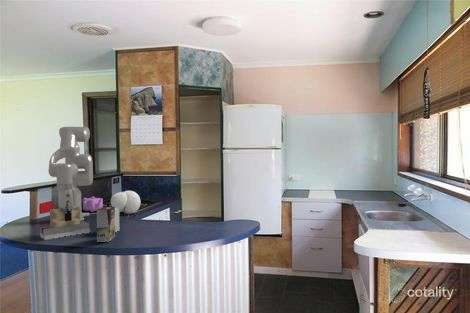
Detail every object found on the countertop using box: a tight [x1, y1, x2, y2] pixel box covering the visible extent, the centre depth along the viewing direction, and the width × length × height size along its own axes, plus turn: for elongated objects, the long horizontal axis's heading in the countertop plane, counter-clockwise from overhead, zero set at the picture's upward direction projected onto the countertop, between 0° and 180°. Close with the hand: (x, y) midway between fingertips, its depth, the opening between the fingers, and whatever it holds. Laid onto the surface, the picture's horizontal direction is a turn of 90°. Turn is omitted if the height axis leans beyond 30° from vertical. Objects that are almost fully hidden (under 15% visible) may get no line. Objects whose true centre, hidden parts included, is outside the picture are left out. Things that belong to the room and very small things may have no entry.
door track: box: [39, 220, 91, 241], centre depth 178 cm, size 22×9×5 cm, turn 133°
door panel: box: [49, 206, 81, 228], centre depth 178 cm, size 14×3×12 cm, turn 133°
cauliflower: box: [110, 190, 141, 215], centre depth 234 cm, size 20×18×16 cm
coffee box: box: [96, 206, 116, 243], centre depth 165 cm, size 9×6×16 cm
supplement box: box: [115, 209, 121, 233], centre depth 182 cm, size 7×7×13 cm
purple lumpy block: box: [82, 196, 104, 213], centre depth 246 cm, size 15×13×11 cm
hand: (65, 219), depth 178 cm, fingers open, 9 cm apart
